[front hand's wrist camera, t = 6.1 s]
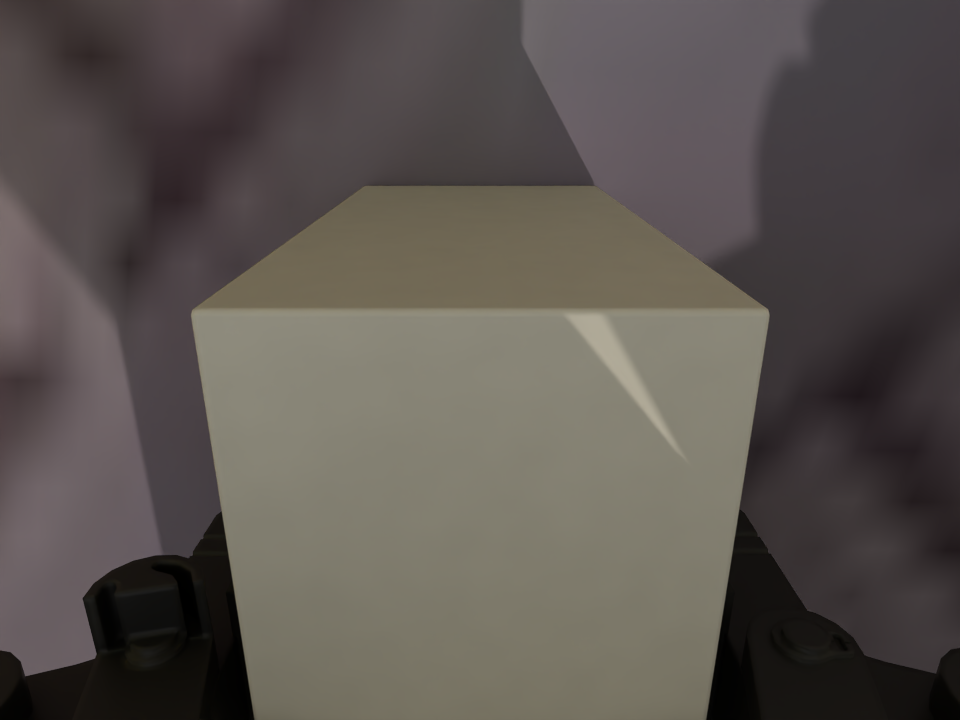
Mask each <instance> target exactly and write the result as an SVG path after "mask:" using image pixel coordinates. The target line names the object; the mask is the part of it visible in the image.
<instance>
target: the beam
mask: <svg viewBox="0 0 960 720" xmlns="http://www.w3.org/2000/svg"><path fill="white" fill-rule="evenodd" d="M769 317H770V315H769V311H768V309H767V308H765V307H764V306H763V305H761V304H760V303H758V302H757V301H756V300H754V299H753V298H751V297H750V296H749V295H747V294H746V293H745V292H743V291H742V290H740V289H739V288H738V287H736V286H735V285H733V284H732V283H731V282H729V281H728V280H726V279H725V278H724V277H722V276H721V275H719V274H718V273H717V272H715V271H714V270H712V269H711V268H710V267H708V266H707V265H705V264H704V263H703V262H701V261H700V260H698V259H697V258H696V257H694V256H693V255H691V254H690V253H689V252H687V251H686V250H684V249H683V248H682V247H680V246H679V245H677V244H676V243H675V242H673V241H672V240H671V239H669V238H668V237H666V236H665V235H664V234H662V233H661V232H659V231H658V230H657V229H655V228H654V227H652V226H651V225H650V224H648V223H647V222H645V221H644V220H643V219H641V218H640V217H638V216H637V215H636V214H634V213H633V212H631V211H630V210H629V209H627V208H626V207H624V206H623V205H622V204H620V203H619V202H617V201H616V200H615V199H613V198H612V197H610V196H609V195H608V194H606V193H605V192H603V191H602V190H601V189H599V188H598V187H596V186H364V187H363V188H361V189H360V190H358V191H357V192H356V193H354V194H353V195H351V196H350V197H349V198H347V199H346V200H344V201H343V202H342V203H340V204H339V205H337V206H336V207H335V208H333V209H332V210H331V211H329V212H328V213H326V214H325V215H324V216H322V217H321V218H319V219H318V220H317V221H315V222H314V223H312V224H311V225H310V226H308V227H307V228H305V229H304V230H303V231H301V232H300V233H298V234H297V235H296V236H294V237H293V238H291V239H290V240H289V241H287V242H286V243H284V244H283V245H282V246H280V247H279V248H278V249H276V250H275V251H273V252H272V253H271V254H269V255H268V256H266V257H265V258H264V259H262V260H261V261H259V262H258V263H257V264H255V265H254V266H252V267H251V268H250V269H248V270H247V271H245V272H244V273H243V274H241V275H240V276H238V277H237V278H236V279H234V280H233V281H232V282H230V283H229V284H227V285H226V286H225V287H223V288H222V289H220V290H219V291H218V292H216V293H215V294H213V295H212V296H211V297H209V298H208V299H206V300H205V301H204V302H202V303H201V304H199V305H198V306H197V307H195V308H194V309H193V310H192V314H191V318H192V325H193V331H194V338H195V344H196V350H197V357H198V363H199V369H200V376H201V382H202V388H203V395H204V401H205V408H206V414H207V420H208V427H209V433H210V439H211V446H212V452H213V459H214V465H215V471H216V478H217V484H218V490H219V497H220V503H221V509H222V516H223V522H224V529H225V535H226V541H227V548H228V554H229V560H230V567H231V573H232V580H233V586H234V592H235V599H236V605H237V611H238V618H239V624H240V630H241V637H242V643H243V650H244V656H245V662H246V669H247V675H248V681H249V688H250V694H251V701H252V707H253V713H254V720H706V717H707V711H708V704H709V698H710V692H711V685H712V679H713V673H714V666H715V660H716V654H717V647H718V641H719V635H720V628H721V622H722V615H723V609H724V603H725V596H726V590H727V584H728V577H729V571H730V565H731V558H732V552H733V546H734V539H735V533H736V526H737V520H738V514H739V507H740V501H741V495H742V488H743V482H744V476H745V469H746V463H747V457H748V450H749V444H750V437H751V431H752V425H753V418H754V412H755V406H756V399H757V393H758V387H759V380H760V374H761V368H762V361H763V355H764V348H765V342H766V336H767V329H768V323H769Z"/></svg>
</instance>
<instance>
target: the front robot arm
mask: <svg viewBox="0 0 960 720" xmlns="http://www.w3.org/2000/svg"><path fill="white" fill-rule="evenodd" d="M83 602H84V605H85V609H86V613H87V617H88V621H89V625H90V629H91V633H92V637H93V641H94V645H95V649H96V653H97V655H96V658H95V659H93V660H89V661H86V662H83V663H80V664H76V665H72V666H68V667H64V668H59V669H55V670H51V671H47V672H42V673H38V674H34V675H30V676H25V674H24V671H23V668H22V665H21V661H19V660H18V659H17V658H16V657H15V656H14V655H13V654H12V653H11V652H6V651H0V720H254V713H253V707H252V701H251V694H250V688H249V681H248V675H247V669H246V662H245V656H244V650H243V643H242V637H241V630H240V624H239V618H238V611H237V605H236V599H235V592H234V586H233V580H232V573H231V567H230V560H229V554H228V548H227V541H226V535H225V529H224V522H223V516H222V512H220V513H219V514H218V515H216V517H215V518H214V520H213V521H212V523H211V524H210V526H209V528H208V529H207V531H206V532H205V534H204V538H203V539H201V540H200V542H199V543H198V545H197V546H196V548H195V550H194V551H193V556H190V557H189V558H185V557H181V556H178V555H158V556H152V557H147V558H143V559H139V560H135V561H132V562H130V563H127V564H125V565H123V566H121V567H118V568H116V569H114V570H112V571H110V572H109V573H107V574H106V575H105V576H103V577H102V578H101V579H99V580H98V581H97V582H95V583H94V584H93V585H92V587H91V588H90V589H89V591H88V592H87V593H86V595H85V596H84V597H83ZM706 720H960V648H957V649H951V650H950V651H949V652H948V653H947V654H946V655H944V656H943V657H942V658H941V660H940V663H939V666H938V670H937V673H936V674H934V673H930V672H926V671H922V670H917V669H913V668H909V667H904V666H900V665H896V664H892V663H887V662H884V661H880V660H877V659H874V658H870V657H867V656H865V655H864V654H863V652H862V651H861V649H860V648H859V646H858V644H857V643H856V641H855V640H854V638H853V637H852V636H851V635H849V634H848V633H847V632H846V631H845V630H843V629H842V628H841V627H840V626H839V625H837V624H836V623H834V622H832V621H830V620H828V619H826V618H824V617H822V616H820V615H818V614H816V613H813V612H809V611H807V610H806V608H805V606H804V605H803V603H802V602H801V600H800V599H799V597H798V596H797V594H796V593H795V591H794V589H793V588H792V586H791V585H790V583H789V582H788V580H787V579H786V577H785V575H784V574H783V572H782V571H781V569H780V568H779V566H778V565H777V563H776V561H775V560H774V558H773V557H772V555H771V554H768V549H767V547H766V546H765V544H764V543H763V541H762V540H761V538H760V537H758V536H757V532H756V530H755V529H754V527H753V526H752V524H751V523H750V521H749V519H748V518H747V516H746V515H745V513H743V512H742V511H741V510H739V514H738V520H737V526H736V533H735V539H734V546H733V552H732V558H731V565H730V571H729V577H728V584H727V590H726V596H725V603H724V609H723V615H722V622H721V628H720V635H719V641H718V647H717V654H716V660H715V666H714V673H713V679H712V685H711V692H710V698H709V704H708V711H707V717H706Z"/></svg>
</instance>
